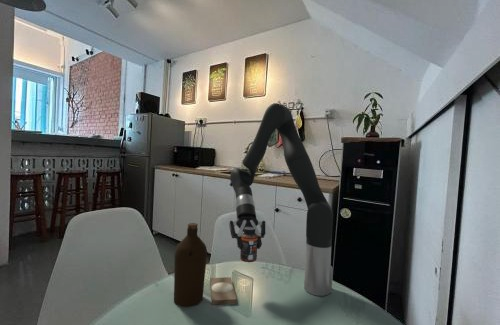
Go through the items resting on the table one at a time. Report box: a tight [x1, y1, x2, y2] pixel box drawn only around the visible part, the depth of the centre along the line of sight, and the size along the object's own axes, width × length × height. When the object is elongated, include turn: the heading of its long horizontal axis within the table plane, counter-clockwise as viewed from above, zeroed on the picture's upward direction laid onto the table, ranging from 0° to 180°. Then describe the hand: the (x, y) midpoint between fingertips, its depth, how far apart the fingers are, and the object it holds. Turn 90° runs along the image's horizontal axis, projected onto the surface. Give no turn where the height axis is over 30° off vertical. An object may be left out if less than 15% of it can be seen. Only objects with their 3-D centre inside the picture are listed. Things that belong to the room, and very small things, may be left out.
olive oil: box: [173, 222, 208, 308], centre depth 81 cm, size 11×11×25 cm
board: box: [209, 276, 238, 306], centre depth 87 cm, size 8×16×2 cm, turn 11°
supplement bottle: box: [239, 227, 258, 263], centre depth 87 cm, size 6×6×11 cm
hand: (250, 247), depth 85 cm, fingers closed on supplement bottle, 6 cm apart
